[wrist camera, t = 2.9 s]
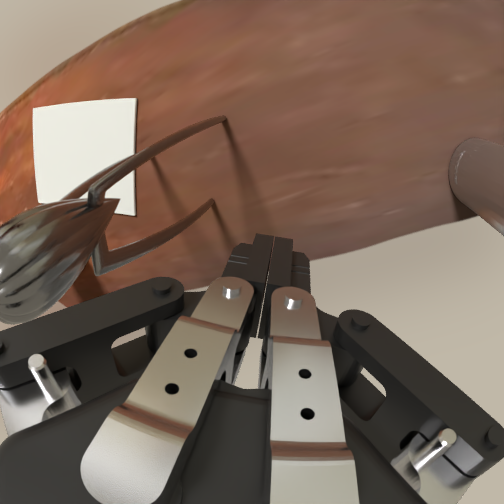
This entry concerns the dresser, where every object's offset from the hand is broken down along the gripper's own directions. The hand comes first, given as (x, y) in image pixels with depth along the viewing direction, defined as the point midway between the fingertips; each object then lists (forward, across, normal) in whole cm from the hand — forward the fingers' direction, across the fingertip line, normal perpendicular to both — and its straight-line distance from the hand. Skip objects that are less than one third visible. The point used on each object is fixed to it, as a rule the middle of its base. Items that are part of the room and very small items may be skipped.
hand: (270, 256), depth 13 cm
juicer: (+24, +10, 0) cm, 27 cm away
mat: (+24, +30, +2) cm, 38 cm away
